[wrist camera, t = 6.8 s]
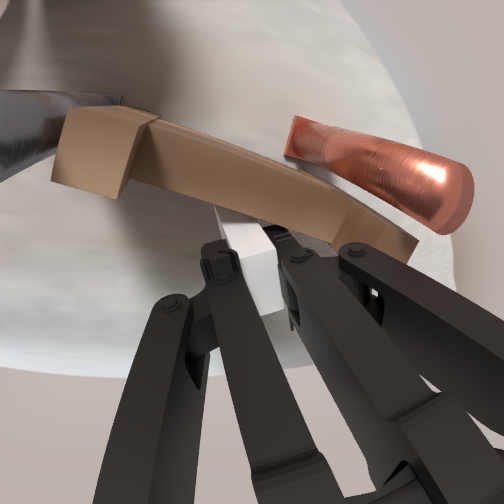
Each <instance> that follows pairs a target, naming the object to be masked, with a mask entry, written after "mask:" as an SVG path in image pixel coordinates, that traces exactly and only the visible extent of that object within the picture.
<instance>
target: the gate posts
mask: <svg viewBox="0 0 504 504" xmlns="http://www.w3.org/2000/svg"><path fill="white" fill-rule="evenodd" d="M121 98H122V96H121V95H112V94H100V93H86V92H80V93H73V92H59V91H39V90H0V183H1V182H2V181H4V180H6V179H8V178H9V177H11V176H13V175H15V174H17V173H18V172H20V171H22V170H24V169H26V168H28V167H30V166H32V165H34V164H35V163H37V162H39V161H41V160H43V159H45V158H48V157H50V156H52V155H54V154H56V153H57V148H58V144H59V140H60V136H61V133H62V129H63V125H64V122H65V119H66V115H67V112H68V109H69V107H86V106H120V102H121ZM284 155H287V156H291V157H294V158H298V159H302V160H305V161H309V162H312V163H314V164H316V165H318V166H320V167H322V168H324V169H326V170H328V171H330V172H332V173H334V174H336V175H338V176H340V177H342V178H343V179H345V180H347V181H349V182H351V183H353V184H355V185H357V186H358V187H360V188H362V189H364V190H366V191H368V192H369V193H371V194H373V195H375V196H376V197H378V198H380V199H382V200H383V201H385V202H387V203H389V204H390V205H392V206H394V207H395V208H397V209H399V210H401V211H402V212H404V213H405V214H407V215H409V216H410V217H412V218H414V219H415V220H417V221H418V222H420V223H422V224H423V225H425V226H426V227H428V228H430V229H431V230H433V231H434V232H436V233H437V234H440V235H447V234H450V233H452V232H454V231H455V230H457V229H458V228H459V227H460V226H461V225H462V223H463V222H464V221H465V219H466V217H467V216H468V213H469V211H470V209H471V206H472V202H473V197H474V181H473V177H472V174H471V172H470V170H469V169H468V168H467V167H466V166H465V165H464V164H461V163H459V162H456V161H453V160H450V159H448V158H445V157H442V156H439V155H436V154H433V153H430V152H427V151H424V150H421V149H418V148H415V147H411V146H408V145H405V144H401V143H398V142H394V141H391V140H387V139H383V138H380V137H376V136H372V135H368V134H364V133H360V132H355V131H351V130H347V129H342V128H338V127H333V126H328V125H323V124H320V123H318V122H315V121H312V120H309V119H306V118H302V117H299V116H295V117H294V120H293V124H292V127H291V131H290V134H289V138H288V141H287V145H286V148H285V152H284Z"/></svg>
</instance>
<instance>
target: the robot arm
mask: <svg viewBox="0 0 504 504" xmlns="http://www.w3.org/2000/svg"><path fill="white" fill-rule="evenodd" d="M214 208H215V213H216V217H217V221H218V225H219V229H220V233H221V237H222V240H218V241H214V242H211V243H207V244H204V245H203V247H202V249H201V255H202V258H201V260H200V266H201V269H202V273H203V276H204V279H205V282H206V286H205V288H204V289H203V290H202V291H201V292H200V293H199V294H197V295H196V296H194V297H192V298H190V299H188V297H187V296H185V295H183V294H172V295H167V296H165V297H163V298H161V299H160V300H159V301H158V302H156V304H155V305H154V307H153V308H152V311H151V314H150V316H149V319H148V322H147V324H146V327H145V330H144V332H143V335H142V338H141V341H140V343H139V346H138V349H137V352H136V355H135V358H134V360H133V363H132V366H131V369H130V372H129V375H128V378H127V381H126V384H125V387H124V390H123V393H122V397H121V400H120V403H119V406H118V409H117V413H116V416H115V419H114V423H113V426H112V429H111V433H110V436H109V440H108V444H107V447H106V451H105V455H104V458H103V462H102V466H101V470H100V474H99V478H98V482H97V486H96V490H95V495H94V499H93V504H194V497H195V485H196V476H197V466H198V456H199V446H200V437H201V428H202V427H201V426H202V419H203V411H204V402H205V393H206V385H207V377H208V370H209V362H210V351H212V350H214V349H216V348H217V347H220V352H221V356H222V360H223V365H224V369H225V373H226V377H227V381H228V385H229V389H230V393H231V397H232V401H233V405H234V409H235V413H236V417H237V420H238V424H239V428H240V432H241V436H242V439H243V443H244V446H245V450H246V454H247V457H248V461H249V464H250V468H251V479H252V484H253V488H254V491H255V495H256V498H257V501H258V504H504V450H501V449H497V448H493V447H492V445H491V444H490V443H489V441H488V440H487V438H486V437H485V436H484V434H483V433H482V432H481V430H480V429H479V428H478V426H477V425H476V424H475V422H474V421H473V420H472V418H471V417H470V416H469V414H470V415H472V416H473V417H474V418H475V419H477V420H478V421H479V422H480V423H482V424H483V425H485V426H486V427H488V428H489V429H490V430H492V431H494V432H496V433H498V434H500V435H502V436H504V321H503V320H501V319H500V318H498V317H496V316H495V315H493V314H492V313H490V312H488V311H487V310H485V309H483V308H482V307H480V306H479V305H477V304H475V303H473V302H472V301H470V300H468V299H467V298H465V297H463V296H462V295H460V294H458V293H456V292H455V291H453V290H451V289H450V288H448V287H446V286H444V285H443V284H441V283H439V282H437V281H435V280H434V279H432V278H430V277H428V276H426V275H425V274H423V273H421V272H419V271H417V270H415V269H414V268H412V267H410V266H408V265H406V264H404V263H403V262H401V261H399V260H397V259H395V258H393V257H391V256H389V255H387V254H385V253H384V252H382V251H380V250H378V249H376V248H374V247H372V246H370V245H368V244H365V243H360V242H351V243H348V244H344V245H343V246H341V247H340V249H339V251H338V256H335V257H320V256H319V255H318V254H317V253H316V252H315V251H313V250H312V249H308V248H302V247H301V246H300V244H299V243H298V242H297V241H296V240H295V239H294V237H292V235H291V234H290V233H289V232H288V230H287V229H286V228H285V227H282V226H279V225H276V224H275V225H271V226H267V227H264V228H261V226H260V225H259V223H258V222H257V221H256V219H255V218H254V217H252V216H249V215H246V214H243V213H240V212H237V211H234V210H231V209H228V208H225V207H222V206H219V205H216V204H214ZM372 289H374V290H375V291H377V292H378V297H376V296H374V295H373V294H372ZM283 299H284V300H283ZM284 301H285V302H286V304H287V306H288V313H289V321H290V328H291V331H292V330H294V327H293V325H294V326H295V328H296V330H297V332H298V334H299V336H300V338H301V339H302V341H303V343H304V345H305V347H306V349H307V351H308V352H309V354H310V356H311V358H312V360H313V362H314V364H315V365H316V367H317V369H318V371H319V372H320V375H321V376H322V378H323V380H324V382H325V384H326V386H327V388H328V390H329V391H330V393H331V395H332V397H333V399H334V401H335V403H336V404H337V406H338V408H339V410H340V412H341V414H342V416H343V418H344V419H345V421H346V423H347V425H348V427H349V429H350V431H351V432H352V434H353V436H354V438H355V440H356V442H357V444H358V445H359V447H360V449H361V451H362V453H363V455H364V457H365V459H366V461H367V464H368V471H369V475H370V478H371V480H372V482H373V484H374V486H375V488H376V490H377V491H374V492H370V493H366V494H361V495H357V496H351V497H346V498H344V496H343V494H342V492H341V490H340V488H339V486H338V484H337V481H336V479H335V477H334V475H333V473H332V470H331V468H330V466H329V464H328V462H327V460H326V459H325V457H324V456H323V454H322V453H321V452H319V451H318V449H317V448H316V445H315V443H314V441H313V439H312V436H311V434H310V432H309V430H308V427H307V425H306V423H305V420H304V418H303V416H302V413H301V411H300V409H299V407H298V404H297V402H296V400H295V398H294V395H293V393H292V390H291V388H290V386H289V384H288V381H287V379H286V376H285V374H284V372H283V369H282V367H281V364H280V362H279V360H278V357H277V355H276V353H275V350H274V348H273V346H272V343H271V341H270V338H269V336H268V334H267V331H266V329H265V326H264V324H263V322H262V319H261V317H260V316H263V315H266V314H270V313H273V312H276V311H279V310H283V309H285V307H284ZM418 373H419V374H420V375H421V376H422V377H424V378H425V379H426V380H427V381H429V382H430V383H431V384H432V385H434V386H435V387H436V388H438V389H439V390H440V391H441V392H439V393H436V392H434V391H432V390H431V389H430V388H429V387H428V385H427V384H426V383H425V381H424V380H423V379H422V378H421V377H420V375H419V374H418ZM466 411H467V412H468V413H469V414H468V413H467V412H466Z"/></svg>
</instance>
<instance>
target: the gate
mask: <svg viewBox="0 0 504 504" xmlns="http://www.w3.org/2000/svg"><path fill="white" fill-rule="evenodd" d="M160 117H161V115H157V114H154V113H151V112H148V111H144V110H141V109H137V108H134V107H130V106H86V107H69V109H68V112H67V115H66V119H65V122H64V125H63V129H62V133H61V136H60V140H59V144H58V148H57V153H56V157H55V161H54V166H53V171H52V176H51V181H52V182H56V183H59V184H63V185H66V186H70V187H73V188H77V189H80V190H84V191H88V192H91V193H95V194H98V195H102V196H105V197H109V198H112V199H117V198H118V196H119V194H120V193H121V191H122V190H123V188H124V186H125V185H126V183H127V182H128V180H129V178H131V179H134V180H138V181H141V182H144V183H148V184H151V185H154V186H158V187H161V188H164V189H168V190H171V191H174V192H177V193H181V194H184V195H187V196H190V197H194V198H197V199H200V200H203V201H206V202H209V203H213V204H216V205H219V206H222V207H225V208H228V209H231V210H234V211H237V212H240V213H243V214H246V215H249V216H252V217H256V218H259V219H262V220H264V221H267V222H270V223H273V224H276V225H279V226H282V227H285V228H288V229H291V230H294V231H297V232H300V233H303V234H305V235H308V236H311V237H314V238H317V239H320V240H323V241H325V242H327V243H328V244H329V245H330V246H331V247H332V248H333V249H334V250H335V251H336V252H337V253H338V251H339V249H340V247H341V246H343V245H344V244H348V243H351V242H360V243H365V244H368V245H370V246H372V247H374V248H376V249H378V250H380V251H382V252H384V253H385V254H387V255H389V256H391V257H393V258H395V259H397V260H399V261H401V262H403V263H404V264H407V262H408V260H409V259H410V257H411V255H412V253H413V251H414V250H415V248H416V246H417V244H418V242H419V240H418V239H416V238H415V237H413V236H412V235H411V234H409V233H408V232H406V231H405V230H403V229H402V228H400V227H399V226H397V225H396V224H394V223H393V222H391V221H390V220H388V219H387V218H385V217H384V216H382V215H381V214H379V213H378V212H376V211H375V210H373V209H372V208H370V207H368V206H367V205H365V204H364V203H362V202H360V201H359V200H357V199H356V198H354V197H352V196H351V195H349V194H347V193H346V192H344V191H343V190H341V189H339V188H337V187H336V186H334V185H332V184H331V183H329V182H327V181H325V180H323V179H321V178H318V177H316V176H314V175H312V174H310V173H307V172H305V171H303V170H301V169H300V170H299V171H297V170H295V169H293V168H290V167H288V166H286V165H283V164H281V163H279V162H276V161H274V160H271V159H269V158H267V157H264V156H262V155H259V154H257V153H254V152H252V151H249V150H246V149H244V148H241V147H239V146H236V145H233V144H231V143H228V142H225V141H223V140H220V139H217V138H214V137H212V136H209V135H206V134H203V133H200V132H197V131H194V130H191V129H188V128H185V127H182V126H179V125H176V124H173V123H170V122H167V121H164V120H161V119H160Z"/></svg>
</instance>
